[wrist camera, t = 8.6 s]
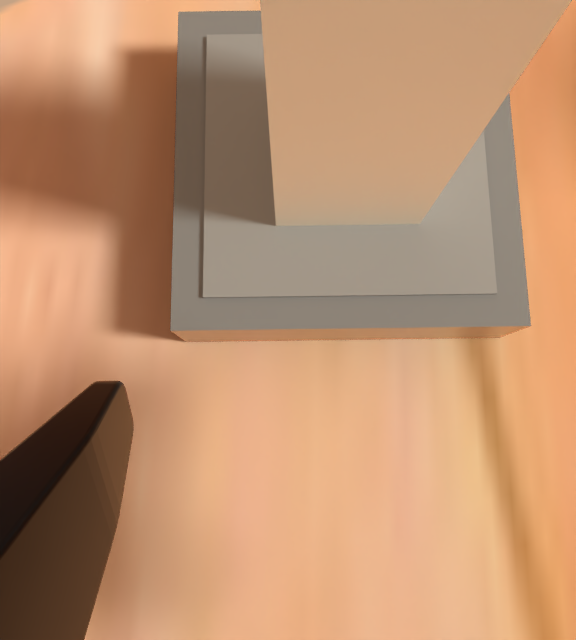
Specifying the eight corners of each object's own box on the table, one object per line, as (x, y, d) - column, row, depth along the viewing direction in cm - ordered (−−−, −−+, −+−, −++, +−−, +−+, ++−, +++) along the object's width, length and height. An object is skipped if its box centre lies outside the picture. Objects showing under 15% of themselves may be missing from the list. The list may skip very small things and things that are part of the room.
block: (419, 223, 17) (582, -15, 8) (275, 226, 17) (259, -11, 8) (411, 93, 18) (549, -271, 8) (274, 95, 18) (257, -267, 8)
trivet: (499, 337, 19) (533, 325, 16) (185, 341, 19) (169, 330, 16) (476, 55, 21) (503, 4, 18) (191, 59, 21) (177, 8, 18)
